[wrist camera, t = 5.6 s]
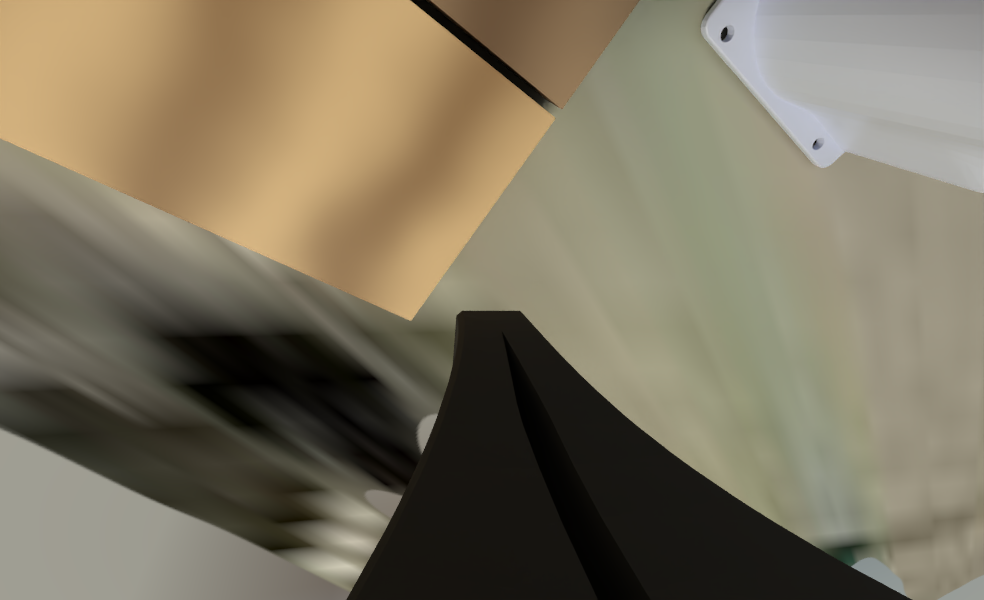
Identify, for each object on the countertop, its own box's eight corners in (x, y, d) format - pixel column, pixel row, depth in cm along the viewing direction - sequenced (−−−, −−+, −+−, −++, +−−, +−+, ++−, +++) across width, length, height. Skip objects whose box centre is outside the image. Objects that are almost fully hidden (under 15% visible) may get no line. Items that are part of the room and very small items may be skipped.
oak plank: (541, 107, 16) (555, 118, 15) (410, 296, 20) (410, 320, 19) (-120, -427, 9) (-244, -530, 7) (-131, 39, 12) (-212, 43, 11)
